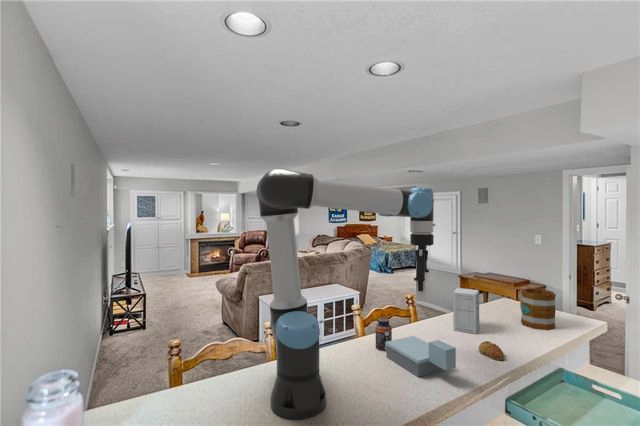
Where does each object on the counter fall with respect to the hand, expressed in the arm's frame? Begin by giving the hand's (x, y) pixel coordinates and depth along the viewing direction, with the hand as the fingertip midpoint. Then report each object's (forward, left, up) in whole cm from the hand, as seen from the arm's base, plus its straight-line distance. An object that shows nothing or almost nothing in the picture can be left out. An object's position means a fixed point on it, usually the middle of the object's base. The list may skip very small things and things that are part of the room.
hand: (421, 295), depth 117 cm
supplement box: (+40, +16, -23) cm, 49 cm away
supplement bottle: (-5, +15, -23) cm, 28 cm away
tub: (-3, 0, -23) cm, 23 cm away
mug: (+74, +8, -23) cm, 78 cm away
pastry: (+27, -6, -24) cm, 37 cm away
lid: (-3, -3, -18) cm, 19 cm away
